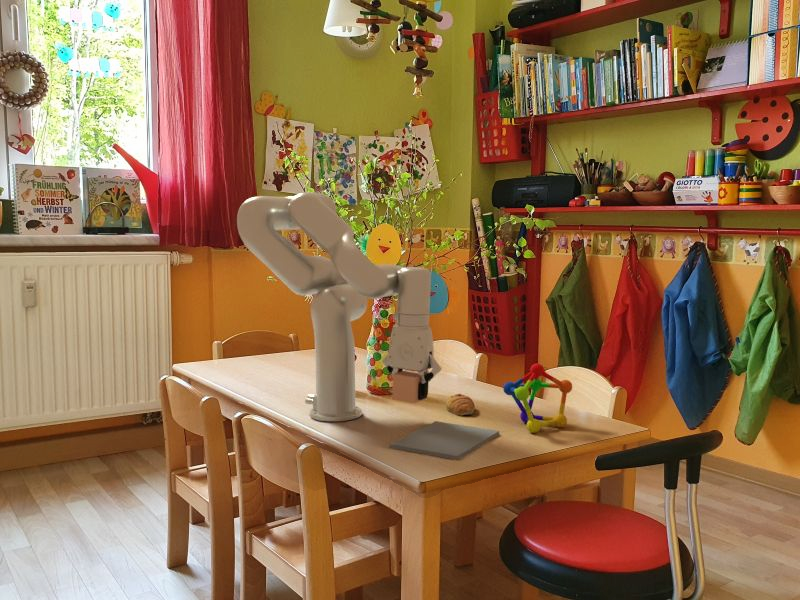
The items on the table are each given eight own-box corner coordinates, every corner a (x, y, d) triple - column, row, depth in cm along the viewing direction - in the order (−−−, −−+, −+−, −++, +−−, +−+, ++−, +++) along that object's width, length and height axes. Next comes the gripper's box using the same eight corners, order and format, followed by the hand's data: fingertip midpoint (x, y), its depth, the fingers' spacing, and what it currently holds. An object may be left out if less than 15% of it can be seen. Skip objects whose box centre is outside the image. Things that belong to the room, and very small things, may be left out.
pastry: (480, 416, 178) (480, 401, 177) (453, 418, 176) (453, 402, 176) (469, 406, 187) (469, 392, 186) (443, 408, 185) (443, 393, 185)
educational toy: (529, 419, 178) (534, 357, 177) (574, 430, 168) (579, 365, 167) (486, 425, 167) (491, 360, 167) (531, 437, 158) (536, 368, 157)
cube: (392, 399, 171) (393, 374, 170) (405, 394, 176) (406, 369, 175) (414, 403, 168) (415, 377, 167) (427, 398, 173) (428, 373, 172)
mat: (389, 447, 153) (389, 443, 153) (435, 424, 170) (435, 421, 170) (457, 460, 145) (457, 456, 145) (499, 434, 162) (499, 430, 162)
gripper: (372, 318, 171) (370, 393, 173) (437, 326, 162) (434, 406, 164) (390, 314, 177) (387, 387, 179) (453, 322, 168) (450, 399, 170)
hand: (410, 395), depth 172 cm, fingers closed on cube, 6 cm apart
